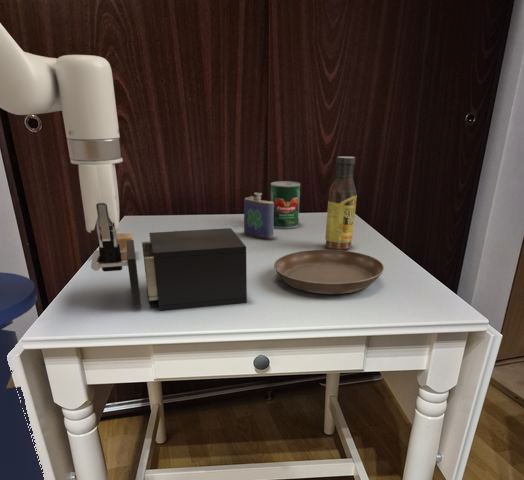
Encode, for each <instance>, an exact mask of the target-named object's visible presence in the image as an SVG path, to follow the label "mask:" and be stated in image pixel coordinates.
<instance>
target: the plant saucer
mask: <svg viewBox="0 0 524 480" xmlns="http://www.w3.org/2000/svg"><path fill="white" fill-rule="evenodd" d="M273 268H274V270H275V272H276V273H277V275H278V276H279V277H280V278H281V280H283V281H284V282H285V283H286V284H287V285H288V286H290V287H292V288H294V289H297V290H299V291H302V292H307V293H310V294H311V293H312V294H319V295H344V294H350V293H351V294H352V293H355V292H359V291H361V290H364V289H366V288H368V287H369V286H370V285H372V284H373V283H374V282H375V281H377V279H379V277H380V276H381V275H382V274H383V273H384V271H385V266H384V264H383V262H382V261H381V260H379V259H377V258H375V257H373V256H370V255H369V254H368V255H367V254H365V253H361V252H356V251H350V250H334V249H307V250H302V251H295V252H291V253H288V254H286V255H283V256H280V257H279V258H278V259H276V260H275V262H274V263H273Z"/></svg>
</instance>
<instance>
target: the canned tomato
mask: <svg viewBox="0 0 524 480" xmlns="http://www.w3.org/2000/svg"><path fill="white" fill-rule="evenodd" d="M300 198H301V182H298V181H292V180H291V181H289V180H279V181H272V182H270V201H272V202H274V218H273V221H274V223H273V229H295V228H298V227H299V226H300V225H299V220H300Z"/></svg>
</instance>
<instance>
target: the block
mask: <svg viewBox="0 0 524 480" xmlns="http://www.w3.org/2000/svg"><path fill="white" fill-rule="evenodd" d="M132 234H133V233H132V232H123V233H117V241H118V244H119V245H120V251H127V240H133V235H132ZM121 260H122V261H127V255H121Z"/></svg>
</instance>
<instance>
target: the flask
mask: <svg viewBox="0 0 524 480" xmlns="http://www.w3.org/2000/svg"><path fill="white" fill-rule="evenodd" d="M253 194H254V196H252V195H250V196H248V197H245V198H243V235H244V236H247V237H250V238H251V237H252V238H256V239H261V240H268V241H270V240H271V241H272V240H274V234H275V233H274V227H273V223H274V221H273V218H274V202H272V201H271V200H270V201H269V200H263V199H262V196H263V193H262V192H254V193H253Z"/></svg>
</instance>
